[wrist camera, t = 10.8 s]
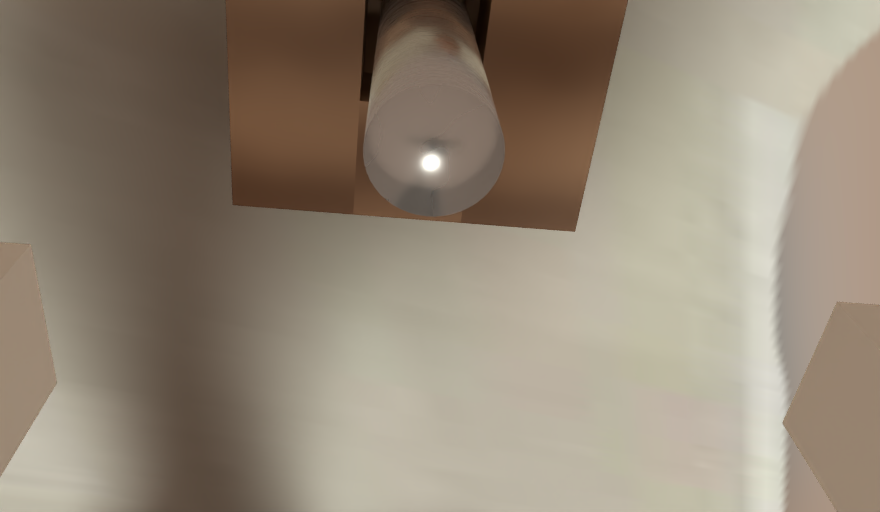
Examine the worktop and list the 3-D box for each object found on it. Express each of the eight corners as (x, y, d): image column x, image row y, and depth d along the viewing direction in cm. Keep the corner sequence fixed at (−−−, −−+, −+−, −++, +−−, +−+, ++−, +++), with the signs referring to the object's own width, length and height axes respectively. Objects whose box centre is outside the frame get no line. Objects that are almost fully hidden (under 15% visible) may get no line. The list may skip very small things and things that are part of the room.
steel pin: (460, 60, 31) (493, 221, 19) (377, 51, 31) (358, 210, 19) (471, -26, 29) (516, 92, 17) (384, -36, 29) (368, 77, 17)
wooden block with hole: (554, 180, 36) (574, 231, 32) (254, 154, 35) (232, 204, 30) (623, -155, 29) (661, -147, 24) (247, -202, 27) (218, -203, 23)
